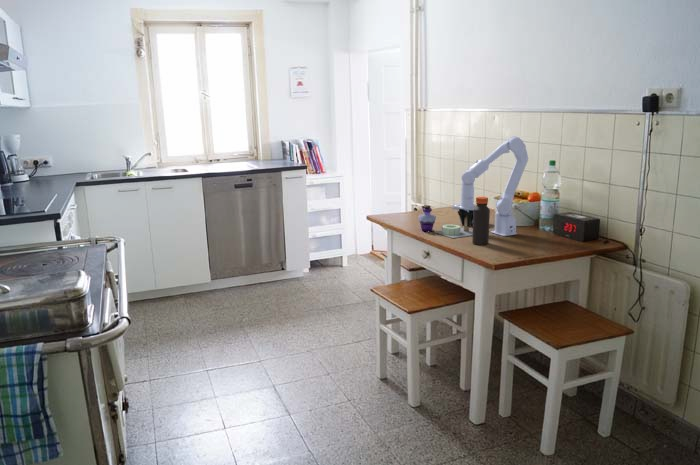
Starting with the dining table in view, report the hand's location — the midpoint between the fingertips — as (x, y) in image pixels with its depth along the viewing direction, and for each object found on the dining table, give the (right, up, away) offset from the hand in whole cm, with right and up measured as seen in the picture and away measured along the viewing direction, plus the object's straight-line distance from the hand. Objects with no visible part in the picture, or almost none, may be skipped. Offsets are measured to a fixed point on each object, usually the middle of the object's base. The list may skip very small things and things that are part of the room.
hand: (466, 226), depth 267 cm
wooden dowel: (0, -2, +1) cm, 2 cm away
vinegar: (+2, -8, -20) cm, 22 cm away
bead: (-8, -3, -2) cm, 8 cm away
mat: (-4, -3, -1) cm, 6 cm away
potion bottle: (-18, -2, +5) cm, 19 cm away
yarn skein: (+6, +1, +17) cm, 18 cm away
